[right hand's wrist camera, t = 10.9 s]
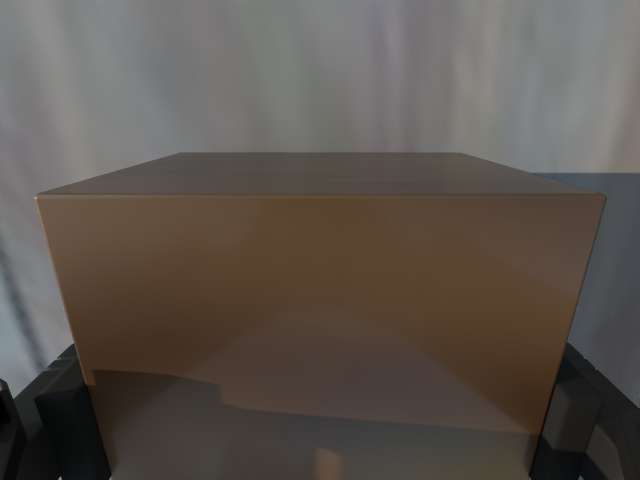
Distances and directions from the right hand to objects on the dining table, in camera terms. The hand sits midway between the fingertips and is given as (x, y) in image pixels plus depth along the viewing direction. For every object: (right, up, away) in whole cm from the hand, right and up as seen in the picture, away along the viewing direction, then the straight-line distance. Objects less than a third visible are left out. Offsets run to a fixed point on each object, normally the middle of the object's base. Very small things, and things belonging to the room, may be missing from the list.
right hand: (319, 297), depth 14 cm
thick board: (0, -20, +8) cm, 21 cm away
